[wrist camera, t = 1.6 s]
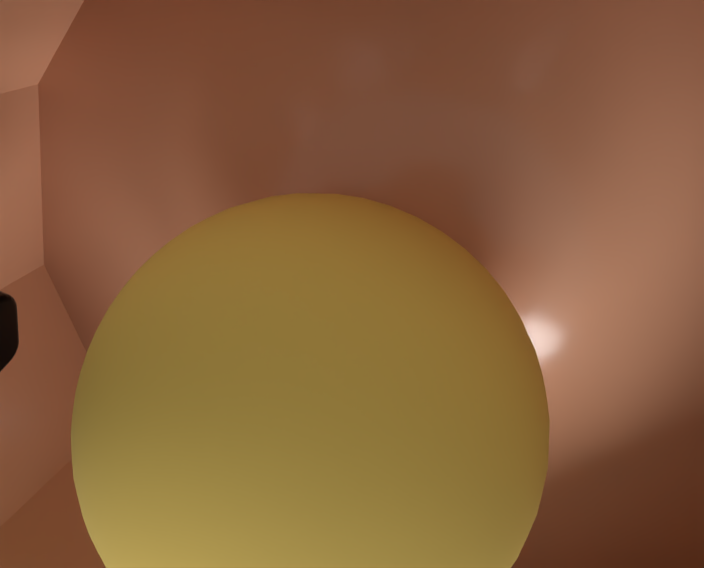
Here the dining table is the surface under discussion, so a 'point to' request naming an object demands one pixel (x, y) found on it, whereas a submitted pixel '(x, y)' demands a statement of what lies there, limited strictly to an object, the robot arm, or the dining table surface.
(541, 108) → the bowl
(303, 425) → the ball
